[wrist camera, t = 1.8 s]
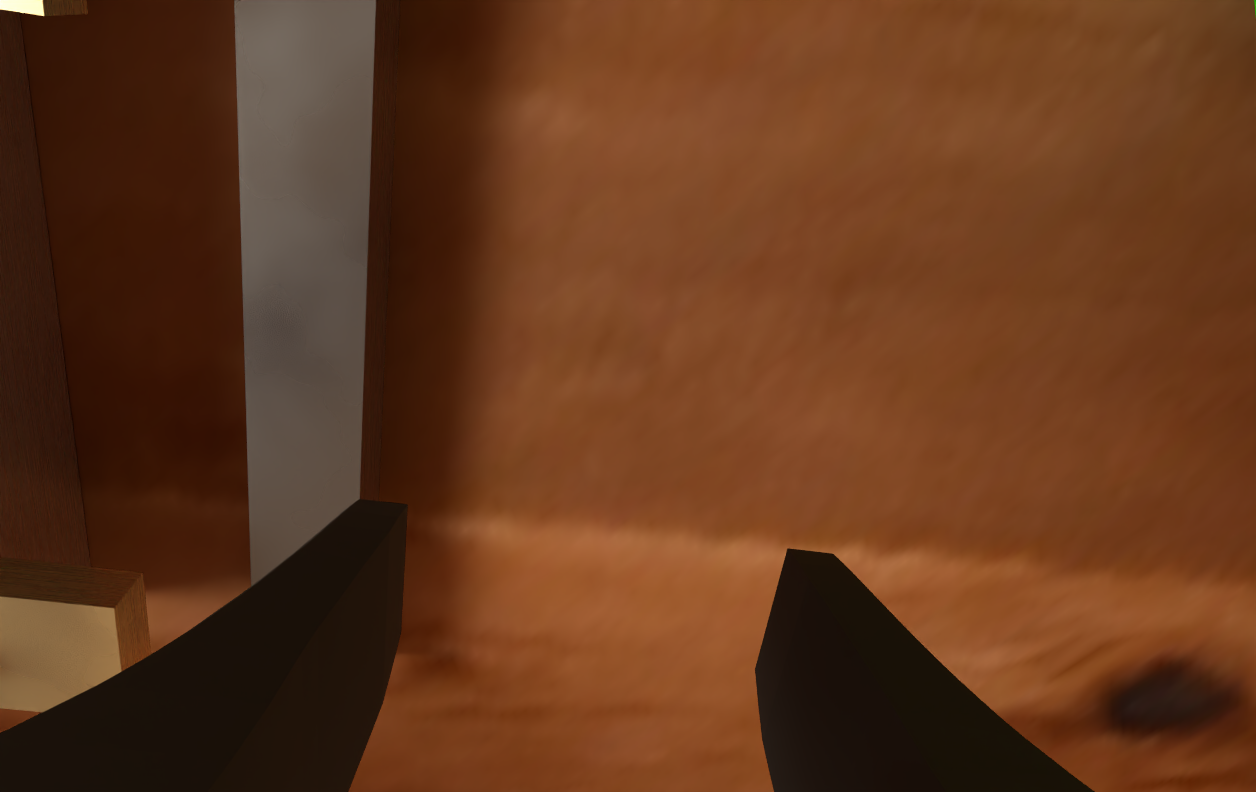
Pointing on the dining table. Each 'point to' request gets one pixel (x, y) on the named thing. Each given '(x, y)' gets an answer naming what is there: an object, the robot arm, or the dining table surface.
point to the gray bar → (313, 257)
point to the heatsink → (44, 444)
